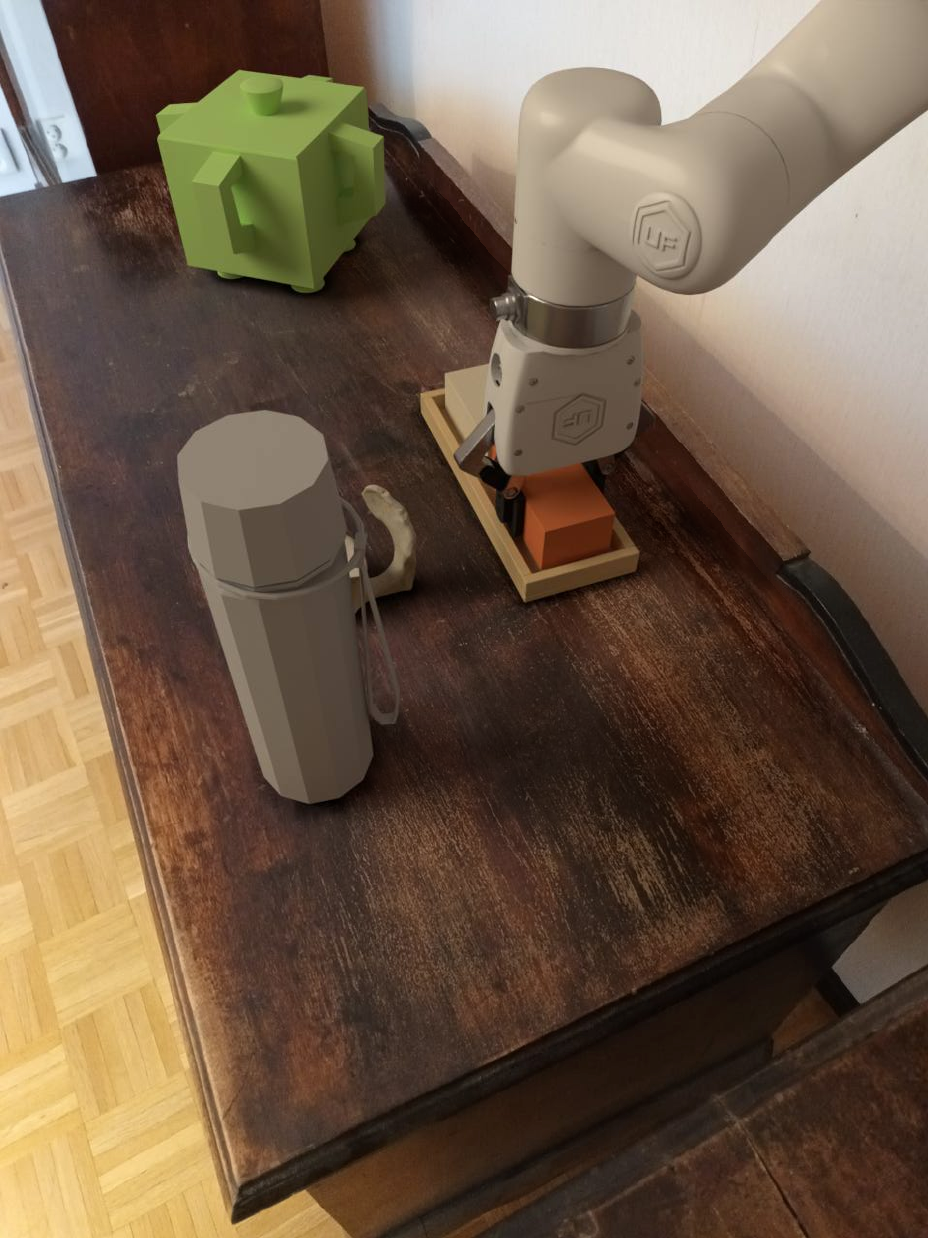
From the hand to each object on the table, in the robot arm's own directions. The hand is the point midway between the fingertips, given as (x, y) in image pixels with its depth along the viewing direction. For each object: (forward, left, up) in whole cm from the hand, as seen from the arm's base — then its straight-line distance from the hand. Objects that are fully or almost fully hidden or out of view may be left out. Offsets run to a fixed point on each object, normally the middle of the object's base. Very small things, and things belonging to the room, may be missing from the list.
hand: (548, 512), depth 71 cm
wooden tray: (+3, -5, -2) cm, 6 cm away
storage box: (+32, -36, -2) cm, 48 cm away
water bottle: (+11, +23, -2) cm, 26 cm away
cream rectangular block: (+5, -9, -1) cm, 11 cm away
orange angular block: (0, 0, 0) cm, 0 cm away
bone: (+13, +9, -2) cm, 16 cm away
